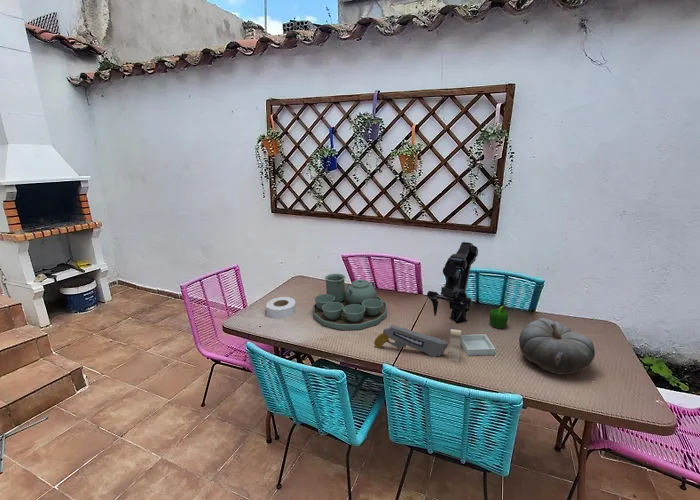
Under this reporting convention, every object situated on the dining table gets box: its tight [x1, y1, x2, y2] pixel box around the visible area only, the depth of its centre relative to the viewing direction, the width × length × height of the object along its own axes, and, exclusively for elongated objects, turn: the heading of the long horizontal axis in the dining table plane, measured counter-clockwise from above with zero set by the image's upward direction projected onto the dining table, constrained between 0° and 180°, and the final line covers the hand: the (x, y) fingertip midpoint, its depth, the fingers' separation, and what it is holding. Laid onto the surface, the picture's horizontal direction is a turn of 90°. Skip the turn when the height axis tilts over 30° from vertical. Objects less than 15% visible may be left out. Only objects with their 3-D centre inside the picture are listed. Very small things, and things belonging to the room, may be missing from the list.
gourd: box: [518, 317, 596, 375], centre depth 134 cm, size 25×25×17 cm
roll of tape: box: [266, 296, 297, 320], centre depth 185 cm, size 16×16×6 cm
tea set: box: [312, 273, 388, 331], centre depth 181 cm, size 40×40×16 cm
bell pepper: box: [488, 305, 509, 329], centre depth 163 cm, size 8×8×10 cm
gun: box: [373, 324, 449, 358], centre depth 146 cm, size 4×28×17 cm, turn 74°
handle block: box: [448, 328, 462, 362], centre depth 139 cm, size 4×4×12 cm
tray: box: [460, 333, 497, 357], centre depth 147 cm, size 12×12×3 cm
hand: (445, 318), depth 146 cm, fingers open, 9 cm apart
